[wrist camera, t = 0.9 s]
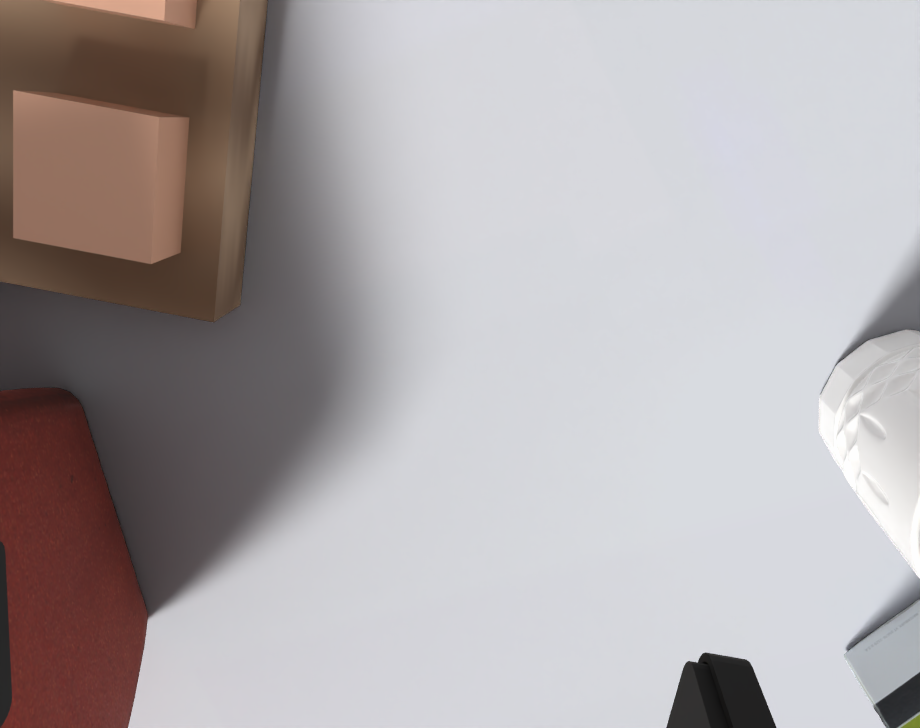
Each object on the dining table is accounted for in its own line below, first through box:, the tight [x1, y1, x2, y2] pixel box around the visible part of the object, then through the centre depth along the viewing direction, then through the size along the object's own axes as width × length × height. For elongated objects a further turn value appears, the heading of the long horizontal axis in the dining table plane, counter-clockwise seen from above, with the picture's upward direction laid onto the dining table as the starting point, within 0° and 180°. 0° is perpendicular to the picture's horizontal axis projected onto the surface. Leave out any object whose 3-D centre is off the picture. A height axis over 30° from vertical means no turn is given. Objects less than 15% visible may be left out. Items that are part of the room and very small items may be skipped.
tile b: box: [13, 90, 189, 264], centre depth 28 cm, size 5×5×2 cm
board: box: [0, 0, 268, 322], centre depth 30 cm, size 18×10×3 cm, turn 170°
